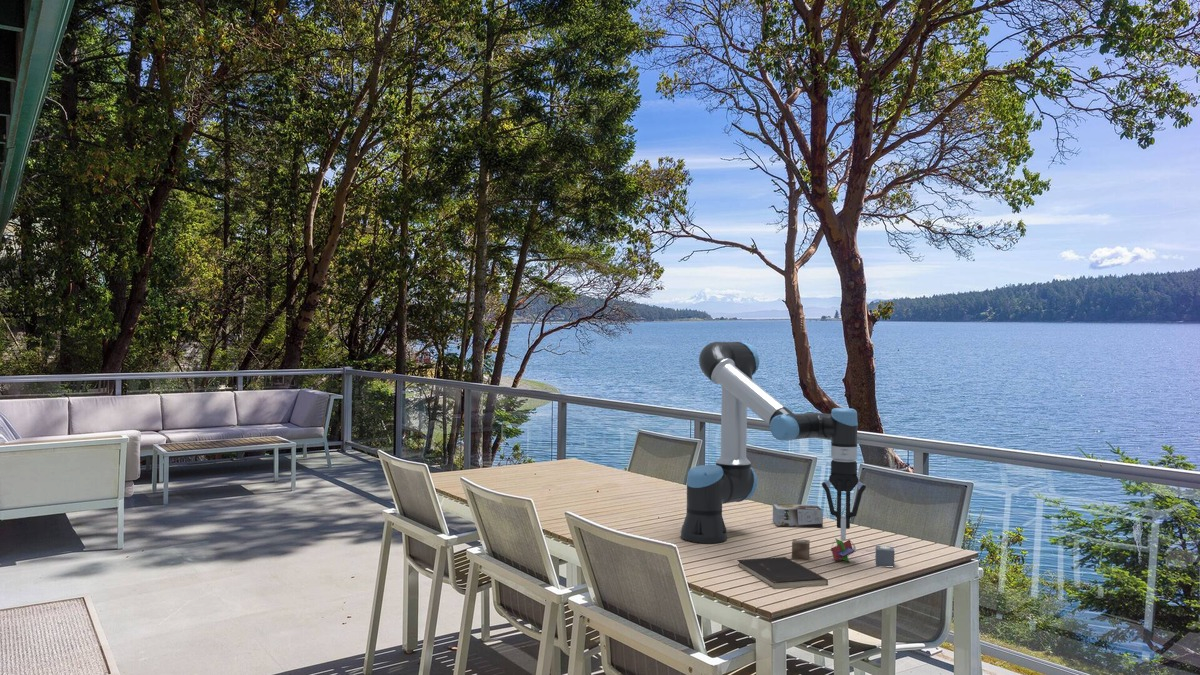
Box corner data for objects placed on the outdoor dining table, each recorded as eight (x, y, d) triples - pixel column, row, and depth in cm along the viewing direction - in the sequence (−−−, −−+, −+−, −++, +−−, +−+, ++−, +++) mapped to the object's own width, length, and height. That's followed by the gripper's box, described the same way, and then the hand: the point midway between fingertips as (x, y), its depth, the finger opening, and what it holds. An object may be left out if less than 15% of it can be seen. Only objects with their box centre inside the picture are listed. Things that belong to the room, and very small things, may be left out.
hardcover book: (774, 590, 224) (774, 582, 224) (737, 567, 246) (737, 559, 246) (828, 586, 228) (828, 578, 228) (786, 564, 250) (787, 556, 250)
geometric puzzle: (832, 557, 248) (847, 535, 250) (820, 551, 255) (835, 530, 256) (849, 571, 250) (864, 549, 251) (837, 565, 257) (851, 543, 258)
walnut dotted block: (791, 559, 255) (792, 541, 255) (792, 555, 259) (792, 538, 259) (808, 560, 253) (809, 543, 253) (809, 556, 258) (809, 539, 258)
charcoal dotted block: (876, 566, 248) (876, 548, 248) (875, 562, 253) (875, 544, 253) (894, 568, 247) (894, 550, 247) (893, 563, 252) (893, 546, 252)
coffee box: (776, 526, 298) (822, 527, 297) (776, 508, 298) (823, 509, 297) (772, 521, 307) (817, 522, 306) (772, 503, 307) (817, 504, 307)
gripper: (821, 460, 251) (820, 540, 251) (867, 462, 248) (866, 543, 248) (821, 457, 259) (820, 535, 258) (866, 459, 255) (865, 538, 255)
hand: (843, 539), depth 253 cm, fingers closed
